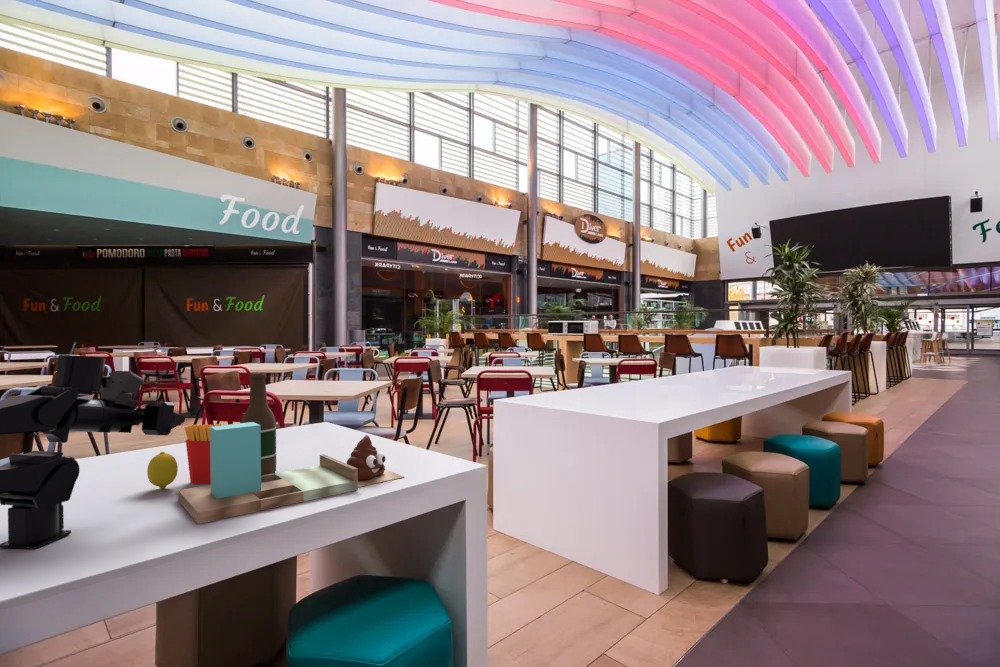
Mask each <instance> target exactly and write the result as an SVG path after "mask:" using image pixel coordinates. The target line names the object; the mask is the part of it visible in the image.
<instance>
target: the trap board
mask: <svg viewBox="0 0 1000 667" xmlns="http://www.w3.org/2000/svg"><path fill="white" fill-rule="evenodd" d="M358 490H359V487H358V468H355V467H353V466H350V465H348V464H347V462H346V463H345V462H343V461H341V460H338V459H336V458H334V457H331V456H328V455H326V454H319V465H317V466H316V465H315V466H309V467H306V468H305V467H304V468H298V469H293V470H286V471H282V472H275V473H274V474H269V475H263V476H261V490H260V491H255V492H249V493H244V494H239V495H234V496H228V497H223V498H218V499H217V498H216V497H215V496H214V495H213V494H211V484H204V485H200V486H195V487H188V488H184V489H183V488H182V489H179V490H177V492H178V493H177V496H178V502H179V503H180V505H182V506H183V508H184V509H185V510H186V511H187V513H188V514H189V515H190V516H191V517H192V519H193V520H194V522H195V523H197V524H198V525H199V524H200V525H201V524H204V523H208V522H209V523H210V522H213V521H218V520H222V519H223V520H224V519H229V518H233V517H237V516H241V515H247V514H250V513H255V512H261V511H265V510H268V509H269V510H270V509H275V508H280V507H283V506H287V505H294V504H298V503H302V502H307V501H308V502H309V501H311V500H317V499H321V498H326V497H332V496H336V495H340V494H344V493H350V492H354V491H358Z"/></svg>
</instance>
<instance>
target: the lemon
mask: <svg viewBox="0 0 1000 667" xmlns="http://www.w3.org/2000/svg"><path fill="white" fill-rule="evenodd" d="M147 465H148V466H147V471H146V472H147V478H148V481H149V483H151V484H152V485H153V486H155V487H159V489H162V490H163V489H166V487H168V486H169V485H170V484H172V483H173V482H174V481H175V480H176V478H177V475H178V470H179V469H178V468H179V467H178V463H177V461H176V458H175V457H174V456H173V455H171V454H170V453H167V452H165V451H161V452H159V453H158V454H156V455H154V456H153V457H151V459H150V460H149V463H148V464H147Z"/></svg>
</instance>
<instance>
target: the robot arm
mask: <svg viewBox="0 0 1000 667" xmlns="http://www.w3.org/2000/svg"><path fill="white" fill-rule="evenodd" d="M105 364H106V358H105V357H100V356H95V355H94V356H93V355H91V356H89V355H87V356H86V355H71V354H59V355H58V357H57V368H56V373H55V379H54V385H41V386H40V387H38V388H36V389H34V390H32V391H30V392H29V393H27V394H18V395H17V394H16V395H14V396H11V397H8V398H4V399H1V400H0V435H6V434H7V435H9V434H10V435H11V434H12V435H13V434H30V433H42V435H45V437H46V439H47V440H48V442H49V443H60V444H61V443H62V444H66V443H68V440H69V435H70V432H74V433H75V432H77V433H80V432H81V433H85V432H87V433H128V434H129V433H132V429H133V426H137V425H140V424H141V431H142V432H143V434H144V435H145V436H169V435H170V434H171V432H172V430H173V429H174V428H177V427H178V426H180V425H182V424H183V423H185V421H186V416H184V415H181V414H179V413H176V412H175V403H174V402H173V401H154V400H153V401H151V400H150V401H149V402H148V403H146V404H145V405H144V407H143V408H142V407H138V402H139V400H136V399H135V397H136V396H137V393H138V392H139V391H140V388H141V386H143V384H144V378H143V377H141V376H139V375H137V374H135V373H133V371H129V370H116V371H113V372H108V375H107V376H103V375H104V370H105ZM93 392H94V393H100V395H101V396H100V398H98V397H94V398H93V397H92V398H79V397H78V395H80V396H93ZM134 399H135V400H134ZM8 459H9V460H8V461H9V462H7V463H4V464H3V465H0V505H1V506H11V507H9V508H7V536H8V537H7V538H8V539H7V540H6V541H4V542H1V543H0V548H1V549H2V548H4V549H5V548H6V549H38V548H40V547H43V546H45V545H47V544H50V543H53V542H55V541H57V540H59V539H61V538H63V537H66V536H68V535H70V534H72V531H71V530H70V529H69V530H68V529H64V521H65V520H64V505H63V503H65V502H68V501H70V499H71V497H72V493H73V491H74V488H75V486H76V485H75V484H76V481H77V480H78V478H79V474H80V472H81V470H80V465H79V463H78V461H77V460H76V459H75V458H74V457H72V456H71V455H70V456H66V455H64V452H63V451H62V452H61V451H60V452H59V451H47V450H32V451H30V452H27V453H9V454H8Z"/></svg>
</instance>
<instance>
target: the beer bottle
mask: <svg viewBox="0 0 1000 667" xmlns="http://www.w3.org/2000/svg"><path fill="white" fill-rule="evenodd" d="M266 378H267V374H266V373H265V372H252V373H250V374H249V379H250V384H249V386H250V387H249V401H248V402H249V403H248V406H247V407H248V408H247V410H246V411H245V412H244V414H243V415H242V419H241V422H240V423H249V422H254V423H257V424H259V425H260V427H261V476H263V475H269V474H274V473H277V423H276V417H275V414H274V412H273V411H272V410H271V408H270V407H269V403H268V397H267V387H266V386H267V385H266Z"/></svg>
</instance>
